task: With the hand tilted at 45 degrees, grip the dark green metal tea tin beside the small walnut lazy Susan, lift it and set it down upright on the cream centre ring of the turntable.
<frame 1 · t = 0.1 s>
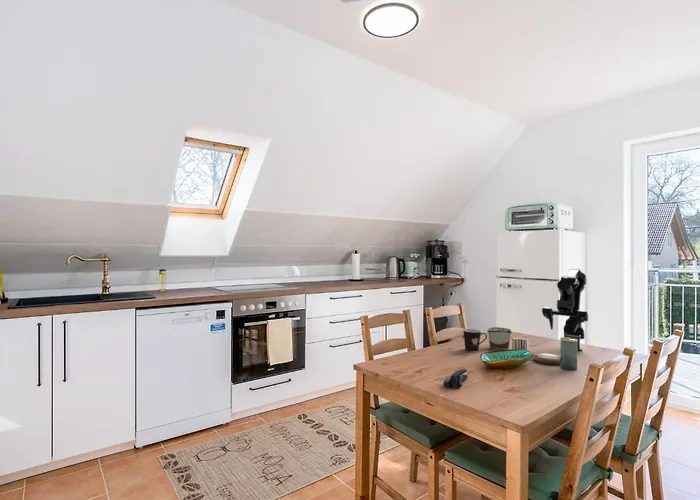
hand: (562, 330, 192), 15 cm above the table, tool tilted 35°, fingers open, 9 cm apart
coffee mug: (474, 350, 214), on the table
turntable base: (547, 361, 194), on the table
food container: (497, 347, 221), on the table
tea tin: (568, 368, 184), on the table
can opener: (458, 383, 163), on the table
turntable: (547, 357, 194), point 2 cm above the table, hinge at 0.0°
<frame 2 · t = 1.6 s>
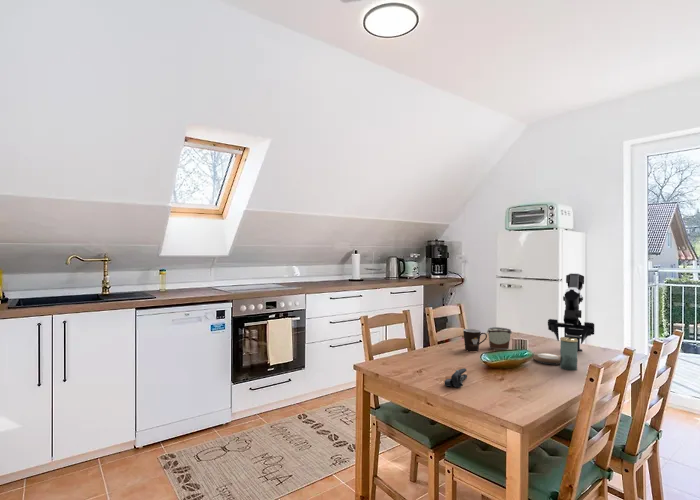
hand: (569, 342, 187), 11 cm above the table, tool tilted 45°, fingers open, 9 cm apart
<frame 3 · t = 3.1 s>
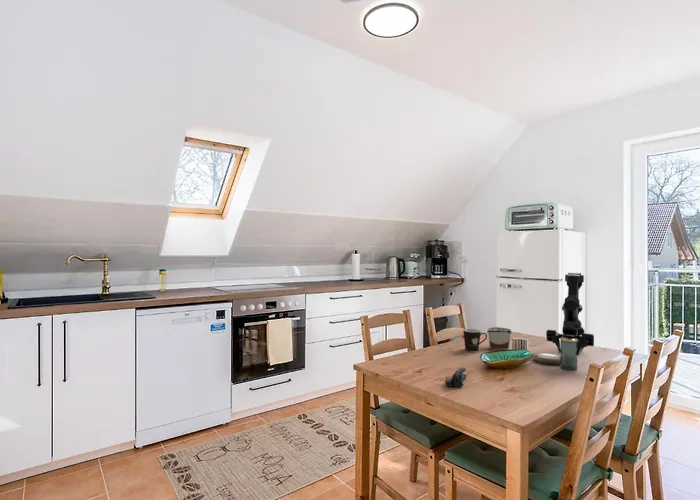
hand: (568, 353, 182), 7 cm above the table, tool tilted 45°, fingers closed on tea tin, 7 cm apart
tea tin: (568, 368, 184), on the table, touching gripper
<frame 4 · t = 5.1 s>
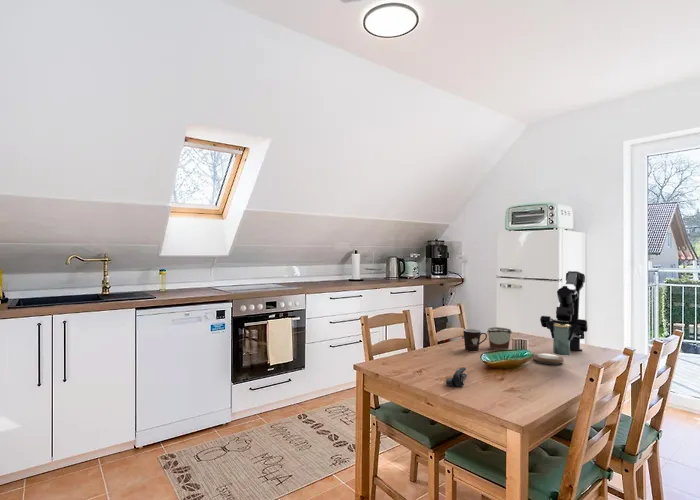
hand: (561, 339, 186), 12 cm above the table, tool tilted 45°, fingers closed on tea tin, 7 cm apart
tea tin: (561, 353, 187), point 6 cm above the table, touching gripper
when the fingers open (10 cm above the table, at t = 6.8 s): tea tin stays where it is, resting on turntable.
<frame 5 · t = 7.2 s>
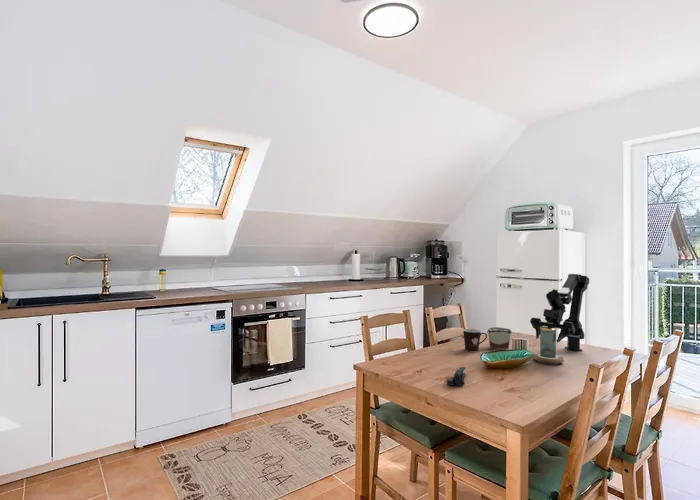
hand: (546, 340, 193), 10 cm above the table, tool tilted 45°, fingers open, 9 cm apart
tea tin: (547, 356, 194), point 2 cm above the table, touching turntable
turntable: (547, 357, 194), point 2 cm above the table, hinge at 0.0°, touching tea tin
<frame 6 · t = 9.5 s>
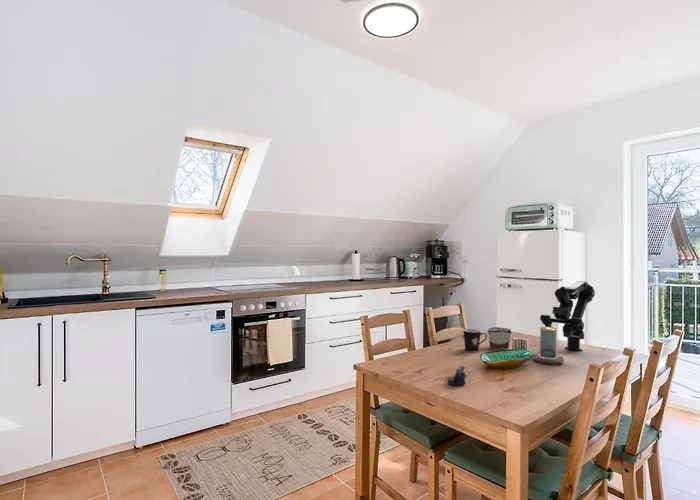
hand: (557, 336, 200), 10 cm above the table, tool tilted 40°, fingers open, 9 cm apart
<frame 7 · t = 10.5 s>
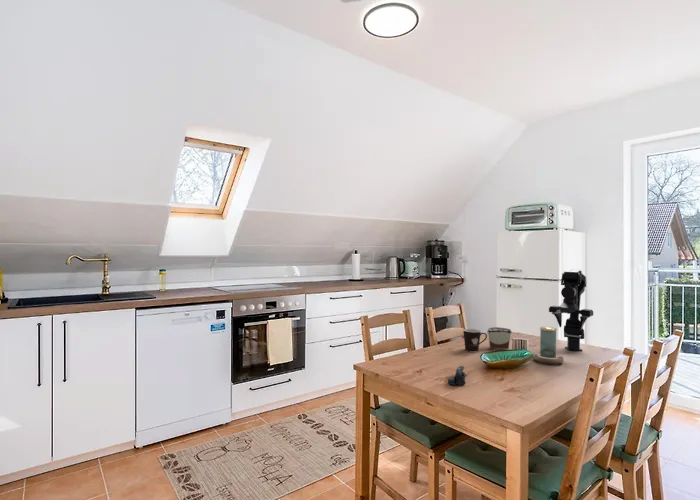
hand: (570, 328, 206), 13 cm above the table, tool pointing down, fingers open, 9 cm apart
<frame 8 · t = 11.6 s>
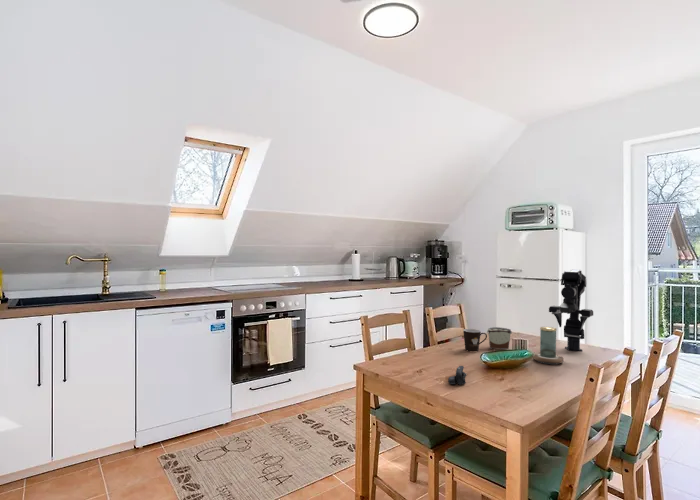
hand: (570, 328, 206), 13 cm above the table, tool pointing down, fingers open, 9 cm apart
at the end: tea tin 0.1 cm off-centre on the turntable, point 2.4 cm above the turntable's base; tea tin tilted 0°; the gripper is holding nothing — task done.
